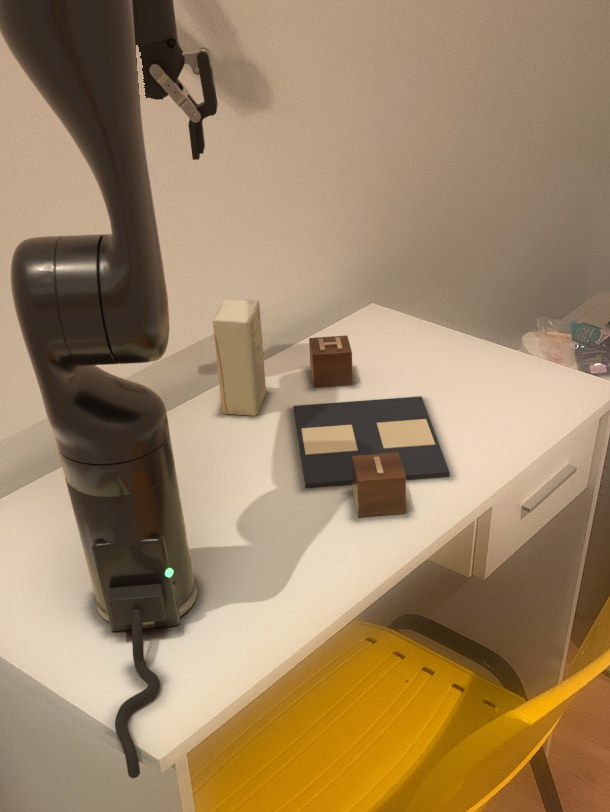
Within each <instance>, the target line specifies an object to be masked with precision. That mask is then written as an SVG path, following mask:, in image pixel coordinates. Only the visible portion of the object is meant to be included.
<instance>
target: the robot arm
mask: <svg viewBox="0 0 610 812" xmlns="http://www.w3.org/2000/svg"><path fill="white" fill-rule="evenodd" d="M175 14H176V13H175V6H174V0H0V34H1V36H2V38H3V40H4V42H5V44H6V46H7V47H8V49H9V51H10V53H11V54H12V56H13V57H14V59H15V60H16V62H17V63H18V65H19V66H20V68H21V69H22V70H23V72H24V73H25V75H26V76H27V78H28V79H29V80H30V82H31V83H32V85H33V86H34V87H35V89H36V90H37V91H38V93H39V94H40V95H41V97H42V98H43V99H44V101H45V102H46V104H47V105H48V106H49V107H50V109H51V110H52V111H53V113H54V115H56V117H57V118H58V119H59V121H60V122H61V124H62V125H63V126H64V128H65V129H66V131H67V132H68V134H69V135H70V137H71V138H72V140H73V142H74V143H75V145H76V147H77V148H78V150H79V152H80V153H81V155H82V157H83V158H84V160H85V162H86V163H87V165H88V167H89V169H90V170H91V173H92V175H93V177H94V179H95V181H96V183H97V185H98V188H99V190H100V193H101V196H102V199H103V201H104V204H105V208H106V212H107V215H108V219H109V224H110V230H111V233H108V234H107V233H105V234H103V233H102V234H75V235H73V234H71V235H52V236H51V235H49V236H36V237H35V236H33V237H29V238H26V239H23V240H22V241H20V242H19V244H18V245H17V246H16V248H15V250H14V252H13V254H12V258H11V264H10V286H11V287H10V288H11V294H12V301H13V305H14V310H15V315H16V318H17V321H18V324H19V328H20V332H21V335H22V338H23V342H24V345H25V348H26V350H27V351H26V352H27V354H28V357H29V360H30V364H31V366H32V369H33V372H34V376H35V378H36V382H37V386H38V388H39V392H40V394H41V395H40V396H41V398H42V403H43V406H44V411H45V413H46V417H47V419H48V422H49V425H50V428H51V429H52V433H53V436H54V440H55V443H56V447H57V451H58V456H59V460H60V463H61V468H62V471H63V475H64V480H65V484H66V487H67V491H68V496H69V499H70V503H71V507H72V511H73V515H74V519H75V523H76V526H77V531H78V534H79V538H80V542H81V547H82V551H83V555H84V559H85V562H86V567H87V570H88V574H89V577H90V580H91V584H92V585H91V586H92V588H93V592H94V601H95V605H96V609H97V611H98V614H99V615H100V616H101V617H102V619H104V620H105V621H106V622H108V623H109V627H110V631H112V632H119V631H129V630H131V641H132V643H131V644H132V659H133V665H134V667H135V670H136V672H137V674H138V676H140V677H141V678H142V679H143V680H144V681H146V682H147V684H148V685H147V686H146V687H145V689H143V690H141V691H140V692H138V693H136V694H135V695H133V696H131V697H129V698H127V700H125V701H124V702H123V703H122V704H121V705H120V707H118V710H117V713H116V716H115V719H114V729H115V733H116V735H117V737H118V739H119V742H120V744H121V747H122V749H123V753H124V758H125V763H126V769H127V775H128V777H129V778H130V779H136V778H139V776H140V774H141V767H140V761H139V757H138V752H137V748H136V745H135V742H134V740H133V738H132V735H131V733H130V731H129V728H128V718H129V715H130V713H131V712H133V710H135V709H136V708H137V707H139V706H141V705H143V704H145V703H146V702H148V701H150V700H151V699H152V698H153V697H154V696H155V695H156V694H157V693H158V691H159V689H160V684H161V683H160V679H159V677H158V675H157V674H156V673H155V672H154V671H152V670H151V669H150V668H149V667H148V666H147V664H146V661H145V652H144V631H143V629H151V628H152V629H153V628H163V627H173V626H179V624H180V619H181V617H182V616H183V615H185V614H186V613H187V612H188V611H189V610H190V609H191V608H192V606H193V605H194V603H195V602H196V599H197V594H198V588H197V582H196V578H195V576H194V572H193V565H192V558H191V553H190V549H189V548H190V547H189V542H188V535H187V529H186V524H185V518H184V513H183V505H182V501H181V500H182V499H181V494H180V489H179V488H180V487H179V483H178V475H177V470H176V465H175V457H174V451H173V445H172V439H171V438H172V437H171V433H170V424H169V418H168V413H167V408H166V405H165V403H164V401H163V399H162V398H161V397H160V395H159V394H158V393H157V392H155V391H154V390H153V389H151V388H150V387H148V386H146V385H144V384H141V383H138V382H135V381H133V380H129V379H126V378H122V377H119V376H117V375H116V374H115V375H114V374H112V373H111V372H108V371H106V370H104V369H102V368H101V367H100V366H105V365H109V366H110V365H127V364H129V365H131V364H147V363H153V362H157V361H159V360H160V359H162V358H163V356H164V355H165V353H166V351H167V348H168V344H169V338H170V307H169V297H168V289H167V282H166V275H165V268H164V262H163V255H162V249H161V243H160V236H159V230H158V223H157V218H156V212H155V211H156V210H155V206H154V205H155V204H154V197H153V192H152V185H151V179H150V173H149V165H148V159H147V152H146V145H145V137H144V128H143V118H142V108H141V100H140V95H139V83H138V71H137V58H136V45H138V47H139V52H141V56H140V58H141V59H142V65H143V68H142V71H143V75H144V76H143V77H144V79H143V80H144V81H143V82H144V83H145V85H144V86H145V87H144V88H145V93H146V94H145V96H146V99H151V100H159V101H161V100H164V98H166V97H168V96H169V97H170V98H171V100H172V101H173V102H174V103H175V104H176V106H178V107H179V108H180V109H181V110H182V111H183V113H184V114H185V115H186V116H187V117H188V118H189V119H188V132H189V141H190V149H191V158H192V160H193V161H195V160H196V161H197V160H200V158H201V155H202V154H203V155H204V152H205V148H206V143H205V142H206V141H205V135H204V125H203V121H204V119H206V118H208V117H212V116H215V115H216V114H217V111H218V98H217V91H216V84H215V78H214V72H213V66H212V65H213V64H212V59H211V53H210V50H209V49H208V48H207V47H205V46H204V47H201V48H200V49H198V50H191V51H183V50H182V47H181V45H180V43H179V39H178V30H177V21H176V15H175ZM185 65H188V66H189V67H190V68H191V71H192V73H193V74H194V75H195V76H199V78H200V85H201V91H202V99H203V101H202V102H200V103H198V102H197V101H196V99H194V98H193V96H192V95H191V94H190V92H189V90H188V88H187V87H186V86H185V85H184V84H183V82H182V81H181V80H180V79H179V77H180V75H181V73H182V71H183V70H184V67H185Z"/></svg>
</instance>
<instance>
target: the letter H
mask: <svg viewBox="0 0 610 812" xmlns="http://www.w3.org/2000/svg"><path fill="white" fill-rule="evenodd" d="M308 345H309V362H310V363H309V365H310V374H311V379H312V384H313V388H323V387H324V388H325V387H340V386H341V387H342V386H352V385H354V383H353V377H354V376H353V351H352V348H351V343H350V339H349V336H348V335H334V336H317V337H309V338H308Z"/></svg>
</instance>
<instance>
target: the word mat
mask: <svg viewBox="0 0 610 812" xmlns="http://www.w3.org/2000/svg"><path fill="white" fill-rule="evenodd" d="M293 413H294V420H295V427H296V432H297V440H298V447H299V453H300V459H301V466H302V472H303V478H304V485H305V488H306V489H310V488H320V487H321V488H322V487H335V486H348V485H353V479H352V456H359V455H371V454H384V453H397V452H398V453H399V456H400V459H401V462H402V466H403V469H404V472H405V476H406V481H409V480H421V479H433V478H445V477H450V470H449V469H450V468H449V466H448V463H447V462H446V459H445V456H444V453H443V451H442V447H441V444H440V442H439V440H438V437H437V434H436V431H435V429H434V425H433V423H432V420H431V418H430V415H429V413H428V410H427V407H426V404H425V403H424V400H423V397H422V396H407V397H395V398H382V399H381V398H378V399H367V400H354V401H353V400H351V401H340V402H338V401H337V402H327V403H314V404H313V403H312V404H300V405H299V404H298V405H293Z"/></svg>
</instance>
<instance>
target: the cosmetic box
mask: <svg viewBox="0 0 610 812" xmlns="http://www.w3.org/2000/svg"><path fill="white" fill-rule="evenodd" d="M212 327H213V328H212V329H213V337H214V345H215V346H214V347H215V354H216V364H217V365H216V366H217V375H218V384H219V385H218V386H219V392H220V402H221V409H222V410H221V411H222V414H225V415H236V416H237V415H239V416H252V417H255V416H256V415H257V414H258V412H259V410H260V408H261V405H262V404H263V401H264V399H265V397H266V394H267V385H266V372H265V371H266V369H265V359H264V346H263V331H262V319H261V306H260V300H251V299H250V300H249V299H233V298H225V299H224V300H223V301H222V303H221V304H220V306H219V307H218V309H217V311H216V312H215V315H214V316H213V318H212Z"/></svg>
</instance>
